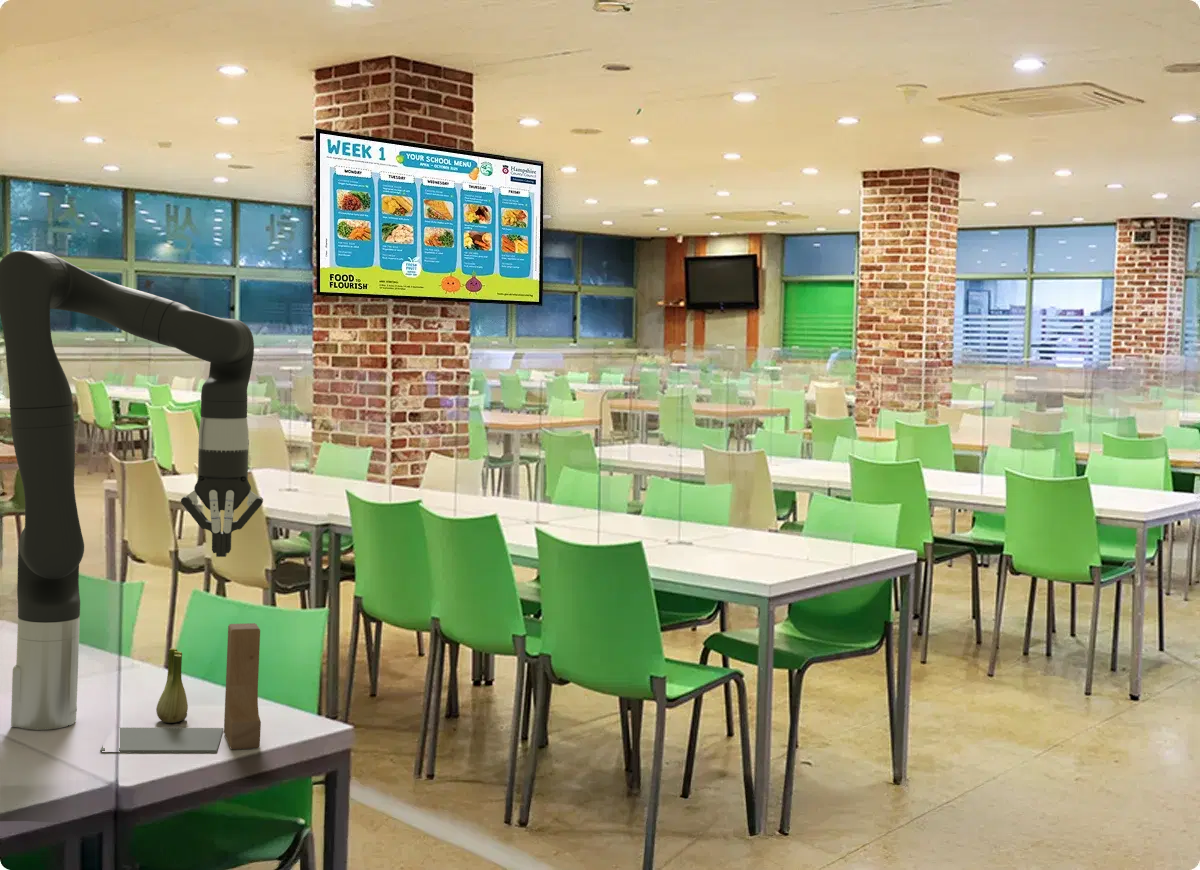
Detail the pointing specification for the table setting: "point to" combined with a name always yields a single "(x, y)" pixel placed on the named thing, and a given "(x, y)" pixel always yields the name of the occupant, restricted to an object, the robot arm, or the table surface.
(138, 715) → the table surface
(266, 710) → the table surface
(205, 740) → the mat
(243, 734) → the wooden block
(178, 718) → the fennel bulb
